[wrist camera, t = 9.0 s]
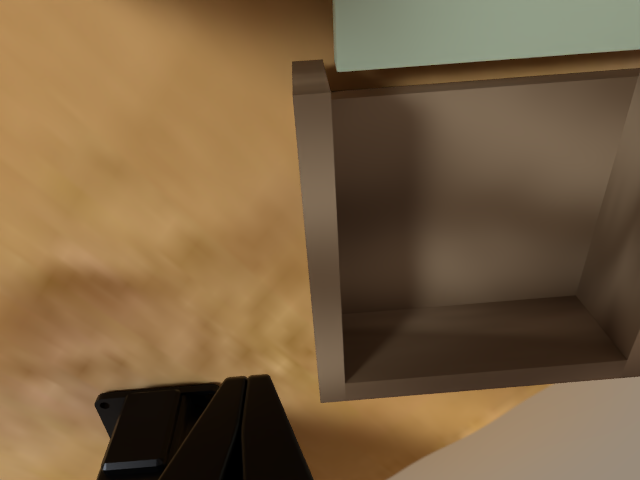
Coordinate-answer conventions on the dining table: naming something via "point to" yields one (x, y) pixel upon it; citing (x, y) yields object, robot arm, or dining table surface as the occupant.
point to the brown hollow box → (471, 231)
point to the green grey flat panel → (477, 30)
